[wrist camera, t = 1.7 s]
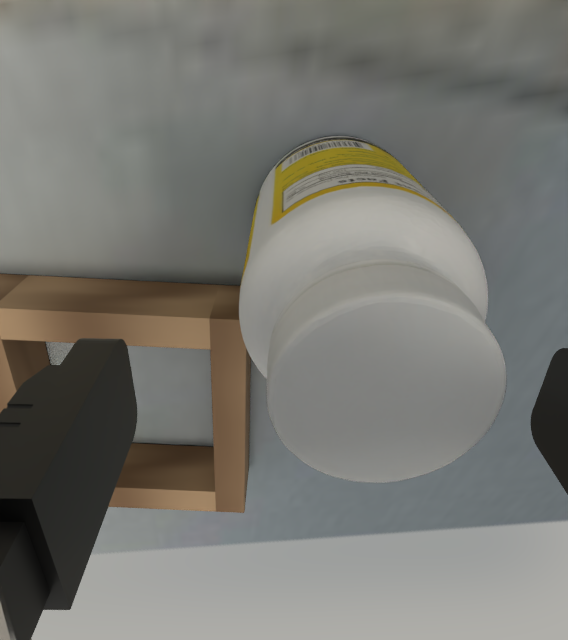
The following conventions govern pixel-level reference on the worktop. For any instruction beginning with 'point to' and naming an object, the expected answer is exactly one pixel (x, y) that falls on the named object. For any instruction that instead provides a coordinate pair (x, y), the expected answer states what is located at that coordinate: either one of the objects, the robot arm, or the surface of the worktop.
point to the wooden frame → (155, 331)
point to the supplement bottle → (367, 316)
